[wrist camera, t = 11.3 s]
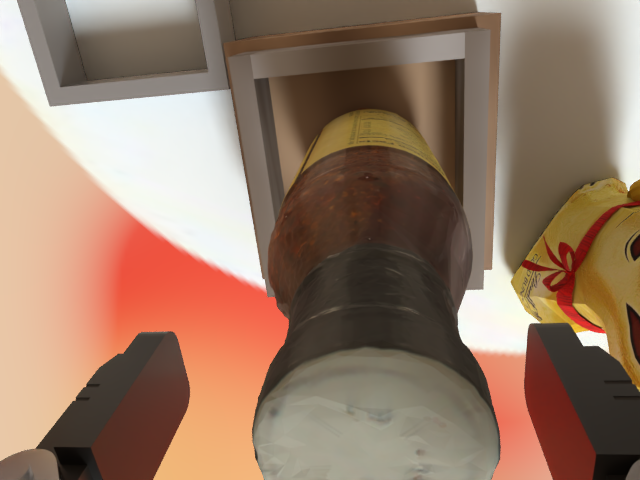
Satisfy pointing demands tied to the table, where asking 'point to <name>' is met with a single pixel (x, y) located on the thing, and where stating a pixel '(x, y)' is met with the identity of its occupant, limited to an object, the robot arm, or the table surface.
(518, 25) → the table surface
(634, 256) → the chocolate bunny
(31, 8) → the low holder
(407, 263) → the sauce bottle
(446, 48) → the walnut dock
